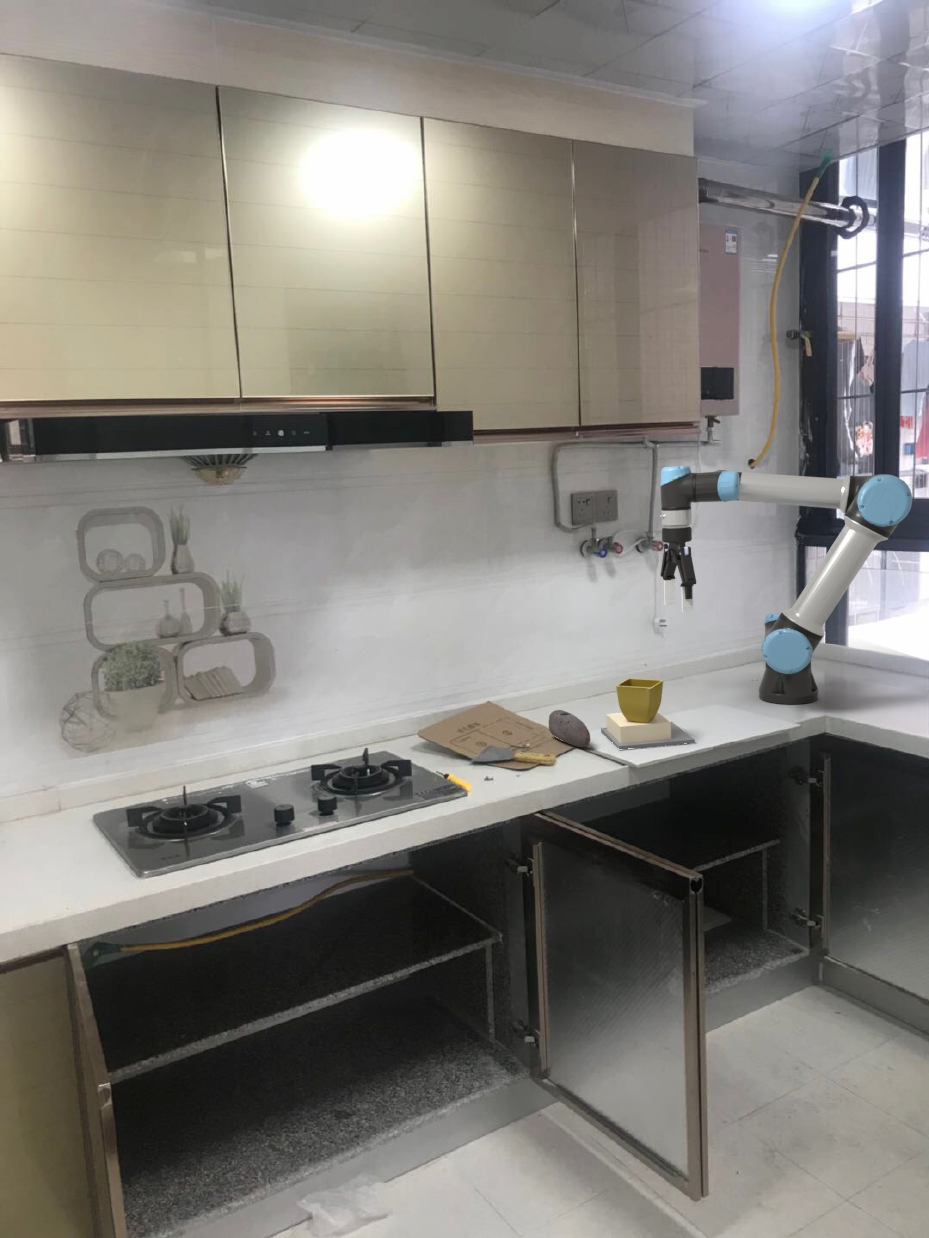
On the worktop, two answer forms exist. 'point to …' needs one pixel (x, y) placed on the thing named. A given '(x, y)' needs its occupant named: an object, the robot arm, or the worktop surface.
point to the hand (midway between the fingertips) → (678, 608)
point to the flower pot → (639, 698)
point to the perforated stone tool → (569, 728)
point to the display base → (674, 739)
